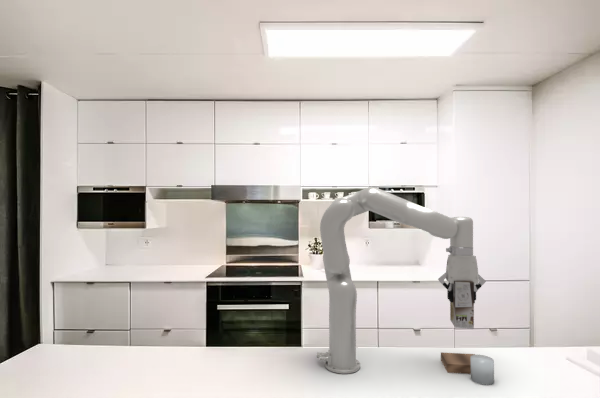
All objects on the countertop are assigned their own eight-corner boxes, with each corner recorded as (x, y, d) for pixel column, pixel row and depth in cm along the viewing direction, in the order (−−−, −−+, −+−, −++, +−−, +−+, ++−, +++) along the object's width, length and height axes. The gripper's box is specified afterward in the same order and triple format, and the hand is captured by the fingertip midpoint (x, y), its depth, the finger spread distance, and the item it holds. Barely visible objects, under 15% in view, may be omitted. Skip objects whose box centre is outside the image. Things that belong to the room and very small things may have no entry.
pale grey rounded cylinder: (474, 384, 122) (474, 362, 122) (467, 374, 129) (467, 354, 129) (497, 386, 121) (497, 364, 121) (489, 375, 128) (489, 355, 128)
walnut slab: (447, 372, 130) (447, 363, 130) (440, 360, 140) (440, 352, 140) (484, 374, 129) (484, 365, 129) (474, 362, 138) (474, 354, 139)
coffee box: (474, 329, 129) (474, 282, 129) (454, 328, 131) (454, 281, 131) (468, 321, 138) (468, 276, 138) (449, 319, 140) (449, 276, 140)
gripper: (438, 252, 132) (438, 303, 132) (491, 253, 130) (491, 305, 130) (433, 249, 139) (434, 298, 139) (483, 250, 137) (483, 300, 137)
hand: (461, 301), depth 134 cm, fingers closed on coffee box, 6 cm apart
